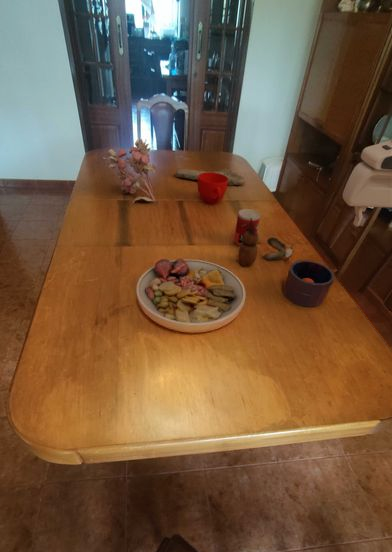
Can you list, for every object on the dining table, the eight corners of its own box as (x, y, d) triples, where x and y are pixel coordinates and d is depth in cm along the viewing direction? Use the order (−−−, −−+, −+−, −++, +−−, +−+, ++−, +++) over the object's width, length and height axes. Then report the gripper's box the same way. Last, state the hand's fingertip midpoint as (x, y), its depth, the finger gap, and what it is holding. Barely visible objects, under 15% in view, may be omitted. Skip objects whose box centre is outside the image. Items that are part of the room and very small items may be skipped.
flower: (169, 185, 147) (143, 125, 131) (173, 200, 130) (144, 133, 114) (131, 205, 150) (101, 149, 134) (131, 221, 134) (96, 159, 117)
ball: (309, 288, 99) (313, 274, 95) (314, 297, 95) (319, 283, 91) (293, 288, 98) (297, 274, 95) (298, 298, 95) (302, 284, 91)
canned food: (237, 249, 114) (242, 219, 106) (230, 238, 119) (235, 208, 111) (257, 248, 115) (263, 218, 107) (250, 237, 120) (255, 208, 112)
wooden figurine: (236, 257, 109) (243, 214, 99) (252, 259, 110) (262, 216, 99) (237, 268, 105) (245, 224, 94) (254, 269, 105) (264, 226, 94)
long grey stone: (178, 175, 165) (173, 183, 159) (177, 164, 161) (173, 171, 155) (245, 180, 161) (243, 188, 155) (246, 169, 157) (245, 176, 151)
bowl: (263, 305, 92) (269, 283, 86) (189, 357, 76) (191, 333, 71) (191, 262, 105) (192, 240, 100) (115, 298, 90) (112, 275, 84)
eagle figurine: (288, 249, 114) (264, 242, 113) (297, 239, 107) (272, 231, 106) (284, 268, 112) (260, 261, 111) (293, 260, 105) (268, 252, 104)
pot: (316, 282, 102) (325, 260, 96) (330, 307, 93) (341, 285, 88) (278, 282, 101) (285, 260, 95) (289, 307, 92) (297, 284, 86)
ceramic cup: (202, 212, 133) (204, 187, 126) (193, 196, 144) (194, 172, 137) (231, 211, 136) (235, 186, 129) (220, 195, 147) (223, 172, 140)
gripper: (451, 153, 64) (413, 220, 74) (355, 148, 62) (329, 218, 72) (472, 163, 59) (428, 233, 69) (370, 158, 57) (340, 231, 67)
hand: (377, 226), depth 70 cm, fingers open, 8 cm apart
